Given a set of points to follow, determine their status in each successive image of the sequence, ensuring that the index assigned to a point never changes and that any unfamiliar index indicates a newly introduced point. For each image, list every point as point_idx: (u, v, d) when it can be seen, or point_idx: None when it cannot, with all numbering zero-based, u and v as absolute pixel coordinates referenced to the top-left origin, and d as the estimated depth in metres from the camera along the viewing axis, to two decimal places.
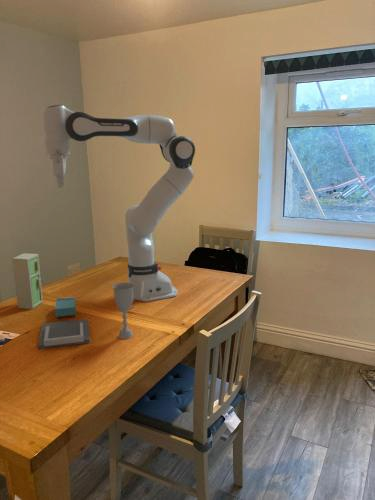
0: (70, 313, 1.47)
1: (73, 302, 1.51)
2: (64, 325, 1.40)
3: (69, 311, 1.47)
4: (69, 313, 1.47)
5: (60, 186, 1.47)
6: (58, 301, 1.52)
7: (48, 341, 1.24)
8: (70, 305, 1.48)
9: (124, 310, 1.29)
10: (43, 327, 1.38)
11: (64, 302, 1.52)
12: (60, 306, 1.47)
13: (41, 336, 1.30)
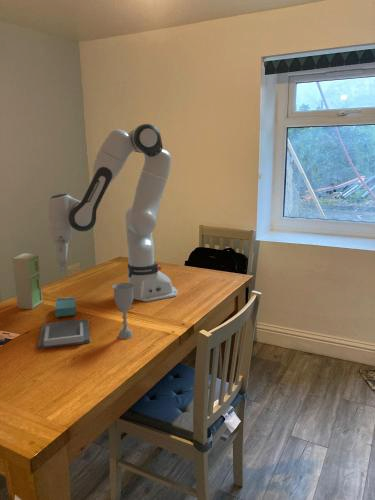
0: (70, 313, 1.47)
1: (73, 302, 1.51)
2: (64, 325, 1.40)
3: (69, 311, 1.47)
4: (69, 313, 1.47)
5: (62, 269, 1.56)
6: (58, 301, 1.52)
7: (48, 341, 1.24)
8: (70, 305, 1.48)
9: (124, 310, 1.29)
10: (43, 327, 1.38)
11: (64, 302, 1.52)
12: (60, 306, 1.47)
13: (41, 336, 1.30)
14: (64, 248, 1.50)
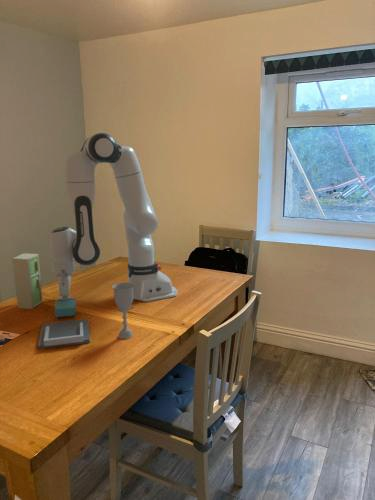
0: (70, 313, 1.46)
1: (73, 302, 1.51)
2: (64, 325, 1.40)
3: (68, 311, 1.46)
4: (69, 313, 1.46)
5: None
6: (58, 302, 1.52)
7: (48, 341, 1.24)
8: (69, 305, 1.48)
9: (124, 310, 1.29)
10: (43, 327, 1.38)
11: (64, 302, 1.51)
12: (60, 306, 1.47)
13: (41, 336, 1.30)
14: (66, 283, 1.50)
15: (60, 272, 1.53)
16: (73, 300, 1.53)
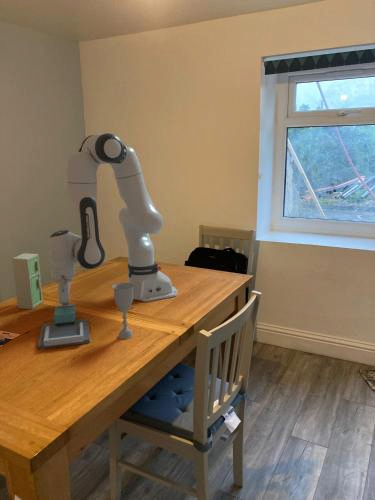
0: (69, 320, 1.39)
1: (73, 309, 1.44)
2: (64, 325, 1.40)
3: (68, 317, 1.39)
4: (68, 320, 1.39)
5: None
6: (57, 308, 1.45)
7: (48, 341, 1.24)
8: (69, 311, 1.41)
9: (124, 310, 1.29)
10: (43, 327, 1.38)
11: (63, 309, 1.44)
12: (59, 313, 1.40)
13: (41, 336, 1.30)
14: (66, 289, 1.43)
15: (59, 278, 1.46)
16: (73, 307, 1.46)
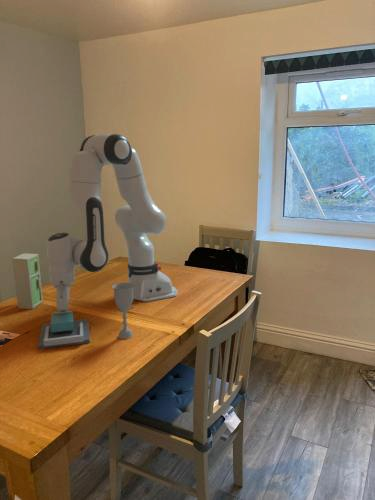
0: (67, 328, 1.31)
1: (71, 316, 1.36)
2: None
3: (66, 326, 1.31)
4: (66, 328, 1.31)
5: None
6: (54, 316, 1.37)
7: (48, 341, 1.24)
8: (67, 319, 1.33)
9: (124, 310, 1.29)
10: (43, 327, 1.38)
11: (61, 316, 1.36)
12: (56, 321, 1.32)
13: (41, 336, 1.30)
14: (65, 295, 1.35)
15: (58, 283, 1.38)
16: (71, 314, 1.38)
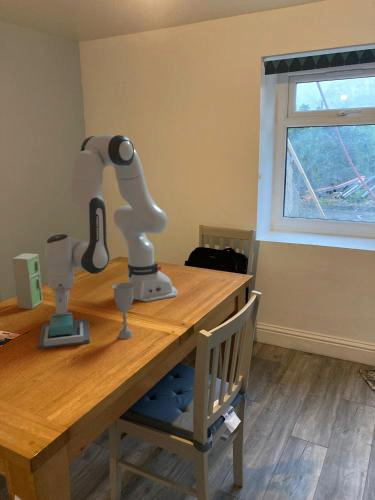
0: (66, 332, 1.29)
1: (70, 319, 1.33)
2: None
3: (65, 329, 1.28)
4: (65, 332, 1.29)
5: None
6: (53, 318, 1.34)
7: (48, 341, 1.24)
8: (66, 322, 1.30)
9: (124, 310, 1.29)
10: (43, 327, 1.38)
11: (60, 319, 1.34)
12: (55, 324, 1.29)
13: (41, 336, 1.30)
14: (64, 299, 1.30)
15: (57, 287, 1.34)
16: (70, 316, 1.36)
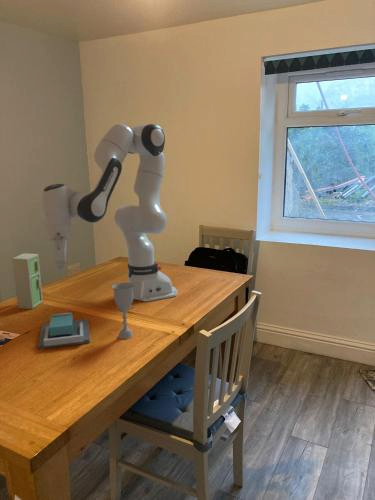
0: (66, 332, 1.29)
1: (70, 319, 1.33)
2: None
3: (65, 330, 1.28)
4: (65, 332, 1.29)
5: (61, 270, 1.37)
6: (53, 318, 1.34)
7: (48, 341, 1.24)
8: (66, 323, 1.30)
9: (124, 310, 1.29)
10: (43, 327, 1.38)
11: (60, 319, 1.34)
12: (55, 324, 1.29)
13: (41, 336, 1.30)
14: (62, 246, 1.31)
15: (55, 235, 1.35)
16: (70, 316, 1.36)
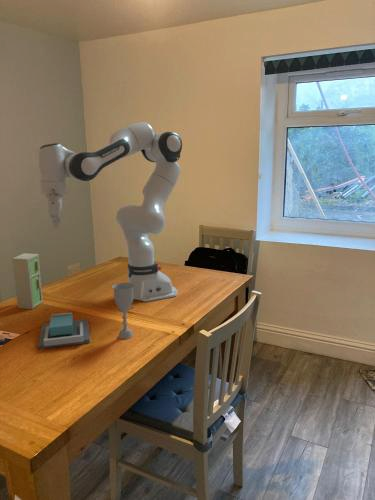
0: (66, 332, 1.29)
1: (70, 319, 1.33)
2: None
3: (65, 330, 1.28)
4: (65, 332, 1.29)
5: (56, 226, 1.42)
6: (53, 318, 1.34)
7: (48, 341, 1.24)
8: (66, 323, 1.30)
9: (124, 310, 1.29)
10: (43, 327, 1.38)
11: (60, 319, 1.34)
12: (55, 324, 1.29)
13: (41, 336, 1.30)
14: (57, 201, 1.37)
15: (50, 192, 1.40)
16: (70, 316, 1.36)
